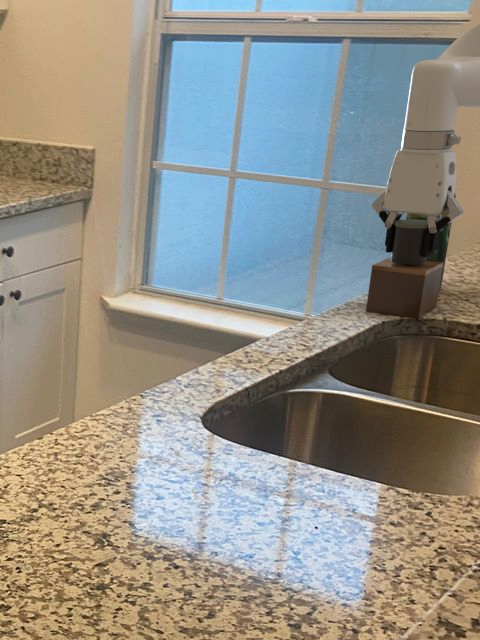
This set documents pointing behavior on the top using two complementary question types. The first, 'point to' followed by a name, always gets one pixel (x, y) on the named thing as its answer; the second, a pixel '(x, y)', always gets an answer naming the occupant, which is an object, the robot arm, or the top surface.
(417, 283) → the box
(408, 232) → the container
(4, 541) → the top surface
